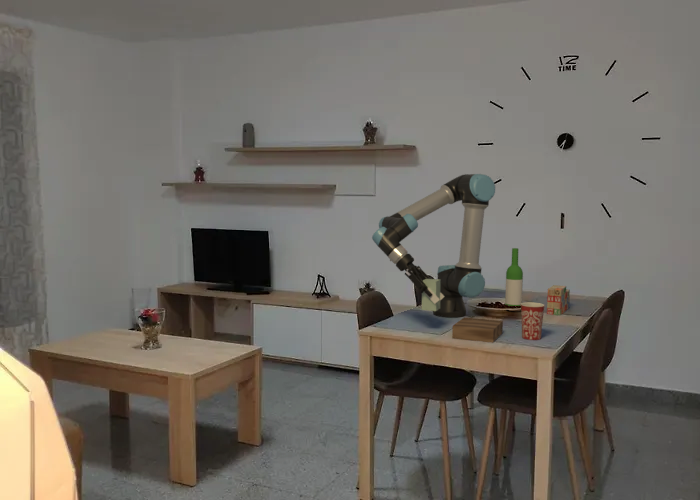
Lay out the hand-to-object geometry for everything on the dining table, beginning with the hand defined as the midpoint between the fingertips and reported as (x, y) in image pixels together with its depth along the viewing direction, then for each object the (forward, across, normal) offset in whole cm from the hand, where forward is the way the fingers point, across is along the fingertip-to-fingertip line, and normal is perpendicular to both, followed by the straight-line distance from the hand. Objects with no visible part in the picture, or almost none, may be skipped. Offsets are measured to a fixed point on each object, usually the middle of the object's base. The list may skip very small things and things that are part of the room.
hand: (439, 300), depth 267 cm
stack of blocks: (+38, -68, +17) cm, 80 cm away
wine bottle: (+24, -59, +3) cm, 64 cm away
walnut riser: (+21, 0, +2) cm, 21 cm away
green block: (0, 0, -5) cm, 5 cm away
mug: (+35, -7, +15) cm, 39 cm away
